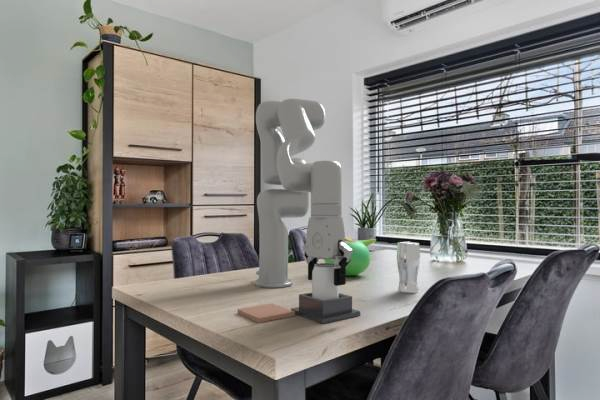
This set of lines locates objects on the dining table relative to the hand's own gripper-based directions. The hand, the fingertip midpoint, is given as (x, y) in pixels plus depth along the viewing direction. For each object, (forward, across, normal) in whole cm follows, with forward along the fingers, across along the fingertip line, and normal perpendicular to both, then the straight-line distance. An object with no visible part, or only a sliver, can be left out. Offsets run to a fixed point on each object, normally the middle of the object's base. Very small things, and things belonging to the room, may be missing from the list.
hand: (326, 282), depth 100 cm
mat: (+8, -9, -12) cm, 17 cm away
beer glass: (+8, -6, +38) cm, 39 cm away
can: (+8, -1, 0) cm, 8 cm away
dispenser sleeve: (+8, -1, 0) cm, 8 cm away
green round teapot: (+7, -38, +43) cm, 58 cm away
